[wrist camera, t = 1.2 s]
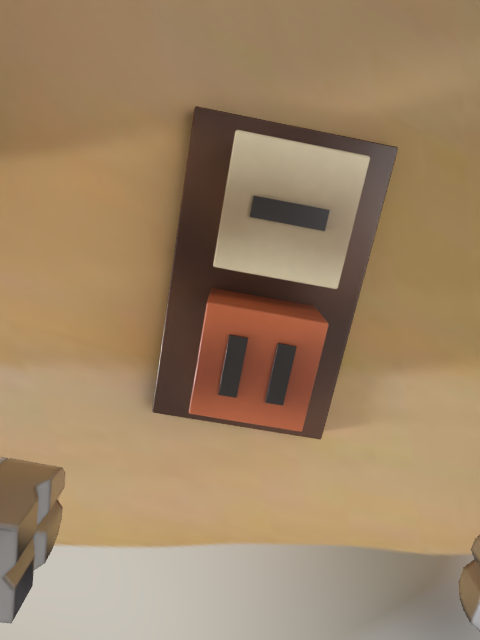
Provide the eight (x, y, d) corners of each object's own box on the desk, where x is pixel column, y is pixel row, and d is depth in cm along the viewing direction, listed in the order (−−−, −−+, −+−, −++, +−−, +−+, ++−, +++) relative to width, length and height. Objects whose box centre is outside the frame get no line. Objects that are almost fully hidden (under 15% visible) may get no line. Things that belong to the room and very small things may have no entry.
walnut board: (196, 109, 16) (194, 105, 15) (393, 149, 16) (398, 147, 16) (154, 406, 19) (151, 412, 19) (318, 433, 20) (321, 440, 19)
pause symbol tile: (211, 287, 17) (206, 302, 14) (315, 305, 17) (330, 324, 15) (195, 384, 18) (187, 415, 15) (292, 400, 19) (302, 434, 16)
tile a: (235, 142, 16) (235, 128, 13) (348, 165, 16) (372, 155, 13) (216, 258, 17) (212, 267, 14) (322, 277, 17) (338, 290, 14)
